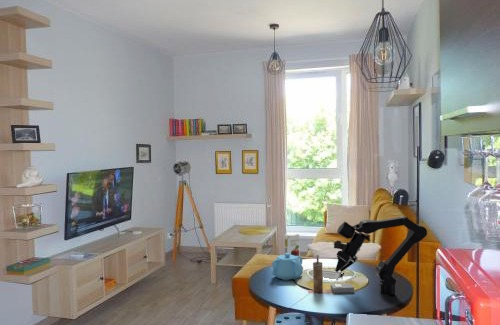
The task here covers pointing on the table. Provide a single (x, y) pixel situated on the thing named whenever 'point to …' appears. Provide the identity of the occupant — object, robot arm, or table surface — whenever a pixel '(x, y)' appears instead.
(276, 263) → the decorative pot
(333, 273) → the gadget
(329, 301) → the table surface
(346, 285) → the block
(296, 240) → the juice carton
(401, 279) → the table surface
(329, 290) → the plywood panel
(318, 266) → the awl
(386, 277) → the robot arm
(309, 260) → the table surface
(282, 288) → the table surface
